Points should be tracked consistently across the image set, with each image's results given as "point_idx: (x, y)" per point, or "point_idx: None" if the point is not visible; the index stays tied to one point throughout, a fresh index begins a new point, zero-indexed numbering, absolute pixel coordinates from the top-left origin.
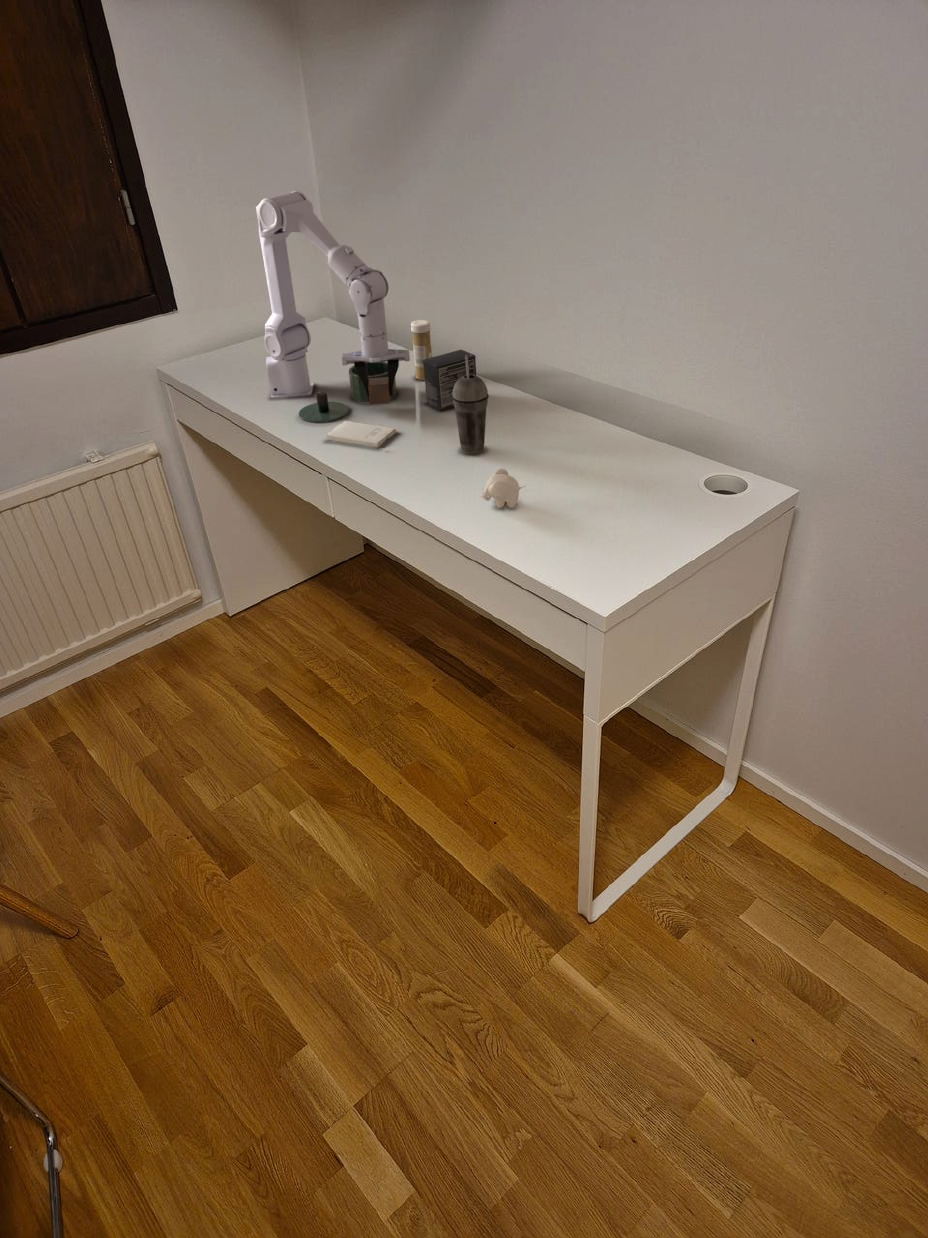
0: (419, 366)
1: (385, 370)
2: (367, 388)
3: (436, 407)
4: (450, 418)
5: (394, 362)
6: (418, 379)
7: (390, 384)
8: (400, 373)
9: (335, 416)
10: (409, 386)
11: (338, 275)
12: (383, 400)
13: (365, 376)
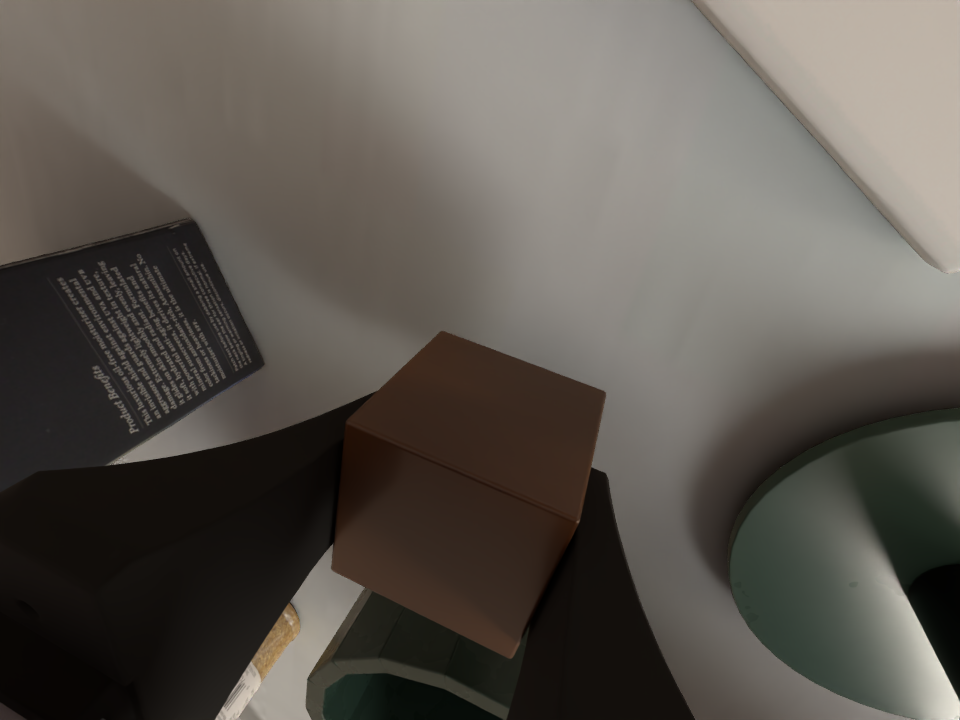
0: None
1: (378, 713)
2: (590, 515)
3: (203, 259)
4: (132, 68)
5: (20, 632)
6: (291, 606)
7: (332, 427)
8: None
9: (947, 449)
10: (332, 580)
11: None
12: (483, 359)
13: (582, 651)
